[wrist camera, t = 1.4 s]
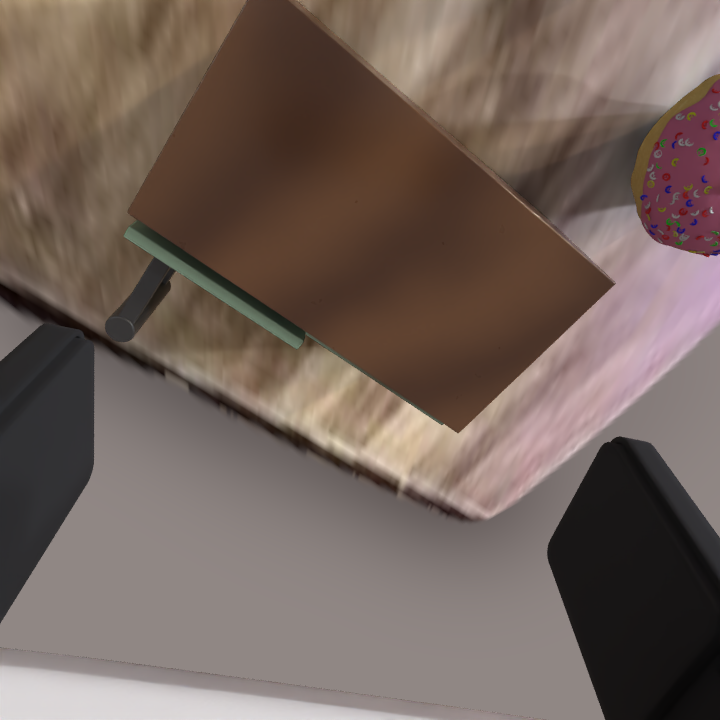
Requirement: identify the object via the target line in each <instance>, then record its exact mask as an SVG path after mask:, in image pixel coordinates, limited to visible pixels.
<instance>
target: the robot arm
mask: <svg viewBox="0 0 720 720" xmlns="http://www.w3.org/2000/svg"><path fill="white" fill-rule="evenodd" d="M93 465H94V344H93V342H92V341H90V340H85V338H84V334H83V332H82V331H81V330H78V329H73V328H68V327H63V326H58V325H53V324H45V323H44V324H43V325H41V326H40V327H39V328H38V329H36V330H35V331H34V332H33V333H32V334H31V335H30V336H29V337H27V338H26V339H25V340H24V341H23V342H22V343H21V344H19V345H18V346H17V347H16V348H15V349H14V350H13V351H12V352H10V353H9V354H8V355H7V356H6V357H5V358H4V359H2V361H0V623H1V621H2V620H3V618H4V616H5V615H6V613H7V612H8V610H9V608H10V607H11V605H12V604H13V602H14V600H15V599H16V597H17V595H18V594H19V592H20V591H21V589H22V587H23V586H24V584H25V582H26V581H27V579H28V578H29V576H30V575H31V573H32V571H33V570H34V568H35V567H36V565H37V563H38V562H39V560H40V559H41V557H42V555H43V554H44V552H45V551H46V549H47V547H48V546H49V544H50V542H51V541H52V539H53V538H54V536H55V534H56V533H57V531H58V530H59V528H60V526H61V525H62V523H63V522H64V520H65V518H66V517H67V515H68V514H69V512H70V510H71V509H72V507H73V505H74V504H75V502H76V501H77V499H78V497H79V496H80V494H81V493H82V491H83V489H84V488H85V486H86V485H87V483H88V481H89V479H90V476H91V473H92V470H93ZM547 555H548V561H549V564H550V567H551V570H552V572H553V575H554V578H555V581H556V583H557V586H558V589H559V592H560V595H561V598H562V600H563V603H564V606H565V609H566V611H567V614H568V617H569V620H570V623H571V625H572V628H573V631H574V634H575V636H576V639H577V642H578V644H579V648H580V650H581V653H582V656H583V659H584V661H585V664H586V667H587V670H588V672H589V675H590V678H591V681H592V684H593V687H594V689H595V692H596V695H597V698H598V701H599V703H600V706H601V709H602V712H603V714H604V717H605V720H720V538H719V536H718V535H717V533H716V532H715V531H714V529H713V528H712V527H711V525H710V524H709V523H708V521H707V520H706V518H705V517H704V515H703V514H702V513H701V511H700V510H699V509H698V507H697V506H696V504H695V503H694V502H693V500H692V499H691V498H690V496H689V495H688V493H687V492H686V490H685V489H684V488H683V486H682V485H681V484H680V482H679V481H678V479H677V478H676V477H675V476H674V474H673V473H672V471H671V470H670V468H669V467H668V466H667V464H666V463H665V461H664V460H663V459H662V457H661V456H660V454H659V453H658V452H657V451H656V449H655V448H654V446H653V445H651V444H650V443H648V442H645V441H640V440H634V439H629V438H625V437H616V438H614V439H613V440H612V441H611V442H607V443H604V444H603V445H602V447H601V448H600V450H599V452H598V453H597V455H596V457H595V459H594V461H593V462H592V464H591V466H590V468H589V470H588V472H587V474H586V476H585V477H584V479H583V481H582V483H581V484H580V486H579V488H578V490H577V492H576V494H575V496H574V497H573V499H572V501H571V503H570V505H569V506H568V508H567V510H566V512H565V514H564V516H563V518H562V519H561V521H560V523H559V525H558V527H557V528H556V531H555V532H554V534H553V536H552V538H551V539H550V542H549V545H548V551H547ZM0 720H544V719H537V718H530V717H523V716H516V715H509V714H502V713H495V712H488V711H481V710H473V709H466V708H459V707H452V706H444V705H438V704H430V703H423V702H415V701H409V700H402V699H394V698H387V697H380V696H372V695H365V694H358V693H351V692H343V691H336V690H328V689H322V688H314V687H307V686H300V685H292V684H285V683H277V682H270V681H262V680H255V679H246V678H239V677H232V676H225V675H217V674H210V673H202V672H194V671H186V670H179V669H172V668H163V667H156V666H149V665H141V664H134V663H126V662H119V661H111V660H104V659H96V658H87V657H78V656H70V655H60V654H52V653H43V652H35V651H26V650H18V649H9V648H0Z"/></svg>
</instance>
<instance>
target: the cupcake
mask: <svg viewBox="0 0 720 720" xmlns="http://www.w3.org/2000/svg"><path fill="white" fill-rule="evenodd" d="M631 188H632V192H633V196H634V199H635V202H636V206H637V213H638V216H639V218H640V219H641V221H642V224H643V227H644V228H645V230H646V231H647V233H648V234H649V235H650V236H651V237H652V238H653V239H654V240H655V241H657V242H659V243H661V244H664V245H668V246H672V247H675V248H678V249H681V250H685V251H689V252H691V253H696V254H700V255H704V256H706V257H709V255H715V256H716V255H718V254H720V74H718V75H714V76H712V77H710V78H708V79H706V80H705V81H704V82H703V83H701V84H700V85H699V86H698V87H696V88H695V89H694V90H692V91H691V92H690V93H688V94H687V95H686V96H684V97H683V98H682V99H681V100H680V101H678V102H677V103H676V104H675V105H674V106H673V107H672V108H671V109H670V110H668V111H667V112H666V113H665V114H664V115H663V116H662V117H661V118H660V119H659V120H658V122H657V123H656V124H655V125H654V126H653V128H652V129H651V130H650V132H649V133H648V134H647V136H646V137H645V139H644V141H643V142H642V144H641V146H640V148H639V151H638V154H637V158H636V163H635V167H634V170H633V173H632V177H631Z"/></svg>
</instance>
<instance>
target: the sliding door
mask: <svg viewBox="0 0 720 720" xmlns="http://www.w3.org/2000/svg"><path fill="white" fill-rule="evenodd" d="M124 237H125V238H126V239H128V240H129V241H131V242H132V243H134V244H136V245H137V246H139V247H140V248H142V249H143V250H145V251H146V252H148V253H149V254H151V255H152V256H154V258H153V259H152V261H151V263H150V264H149V266H148V268H147V269H146V271H145V272H144V274H143V276H142V277H141V279H140V281H139V282H138V284H137V285H136V287H135V289H134V290H133V292H132V294H131V295H130V296H129V297H128V298H127V299H126V300H125V301H124V302H123V303H122V304H121V306H120V307H119V308H118V309H117V310H116V311H115V312H114V313H113V314H112V315H111V316H110V317H109V319H108V320H107V321H106V324H105V329H106V332H107V334H108V335H109V337H111V338H112V339H113V340H115V341H118V342H127V341H129V340H131V339H132V338H133V337H134V336H135V334H136V333H137V332H138V330H139V329H140V328H141V327H142V325H143V324H144V323H145V322H146V320H147V319H148V318H149V316H150V315H151V314H152V313H153V311H154V310H155V309H156V307H157V306H158V305H159V304H160V302H161V301H162V300H163V298H164V297H165V296H166V295H167V293H168V292H169V290H170V287H171V285H170V281H169V280H170V279H171V277H172V275H173V274H174V272H175V271H177V272H179V273H180V274H182V275H183V276H185V277H186V278H188V279H189V280H191V281H192V282H194V283H195V284H197V285H198V286H200V287H202V288H203V289H205V290H206V291H208V292H209V293H211V294H212V295H214V296H215V297H217V298H218V299H220V300H221V301H223V302H225V303H226V304H228V305H229V306H231V307H232V308H234V309H235V310H237V311H238V312H240V313H241V314H243V315H244V316H246V317H248V318H249V319H251V320H252V321H254V322H255V323H257V324H258V325H260V326H261V327H263V328H264V329H266V330H268V331H269V332H271V333H272V334H274V335H275V336H277V337H278V338H280V339H281V340H283V341H284V342H286V343H287V344H289V345H291V346H292V347H294V348H295V349H298V348H299V347H300V346H301V345H302V344H303V342H304V338H305V333H306V332H305V331H304V330H302V329H301V328H299V327H298V326H296V325H295V324H293V323H292V322H290V321H289V320H287V319H286V318H284V317H283V316H281V315H280V314H278V313H277V312H275V311H274V310H272V309H271V308H269V307H268V306H266V305H265V304H263V303H262V302H260V301H259V300H257V299H256V298H254V297H253V296H251V295H250V294H248V293H247V292H245V291H244V290H242V289H241V288H239V287H238V286H236V285H235V284H233V283H232V282H230V281H229V280H227V279H226V278H224V277H223V276H221V275H220V274H218V273H217V272H215V271H214V270H212V269H211V268H209V267H208V266H206V265H205V264H203V263H202V262H200V261H199V260H197V259H196V258H194V257H193V256H191V255H190V254H188V253H187V252H185V251H184V250H182V249H181V248H179V247H178V246H176V245H175V244H173V243H172V242H170V241H169V240H167V239H166V238H164V237H163V236H161V235H160V234H158V233H157V232H155V231H154V230H152V229H151V228H149V227H148V226H146V225H145V224H143V223H142V222H140V221H139V220H136V221H135V222H134V223H133V224H131V225H130V226H129V227H128V229H127V230H126V232H125V234H124Z"/></svg>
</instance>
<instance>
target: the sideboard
mask: <svg viewBox="0 0 720 720" xmlns="http://www.w3.org/2000/svg"><path fill="white" fill-rule="evenodd" d="M127 213H128V214H130V215H131V216H133V217H134V218H136V219H137V220H139V221H140V222H142V223H143V224H145V225H146V226H148V227H149V228H151V229H152V230H154V231H155V232H157V233H158V234H160V235H161V236H163V237H164V238H166V239H167V240H169V241H170V242H172V243H173V244H175V245H176V246H178V247H179V248H181V249H182V250H184V251H185V252H187V253H188V254H190V255H191V256H193V257H194V258H196V259H197V260H199V261H200V262H202V263H203V264H205V265H206V266H208V267H209V268H211V269H212V270H214V271H215V272H217V273H218V274H220V275H221V276H223V277H224V278H226V279H227V280H229V281H230V282H232V283H233V284H235V285H236V286H238V287H239V288H241V289H242V290H244V291H245V292H247V293H248V294H250V295H251V296H253V297H254V298H256V299H257V300H259V301H260V302H262V303H263V304H265V305H266V306H268V307H269V308H271V309H272V310H274V311H275V312H277V313H278V314H280V315H281V316H283V317H284V318H286V319H287V320H289V321H290V322H292V323H293V324H295V325H296V326H298V327H299V328H301V329H302V330H304V331H305V332H306V335H307V336H308V337H310V338H311V339H313V340H314V341H316V342H317V343H319V344H320V345H322V346H323V347H325V348H327V349H328V350H330V351H331V352H333V353H334V354H336V355H337V356H339V357H340V358H342V359H343V360H345V361H346V362H348V363H349V364H351V365H352V366H354V367H355V368H357V369H358V370H360V371H361V372H363V373H364V374H366V375H367V376H369V377H370V378H372V379H373V380H375V381H376V382H378V383H379V384H381V385H382V386H384V387H385V388H387V389H388V390H390V391H391V392H393V393H394V394H396V395H397V396H399V397H400V398H402V399H403V400H405V401H406V402H408V403H409V404H411V405H412V406H414V407H415V408H417V409H418V410H420V411H421V412H423V413H424V414H426V415H427V416H429V417H430V418H432V419H433V420H435V421H436V422H438V423H439V424H441V425H443V424H445V425H446V426H448V427H449V428H451V429H452V430H454V431H455V432H457V433H459V432H460V431H461V430H462V429H464V428H465V427H466V426H467V425H468V424H469V423H470V422H471V421H472V420H473V419H474V418H475V417H476V416H477V415H478V414H479V413H480V412H481V411H482V410H483V409H485V408H486V407H487V406H488V405H489V404H490V403H491V402H492V401H493V400H494V399H495V398H496V397H497V396H498V395H499V394H500V393H501V392H502V391H503V390H504V389H506V388H507V387H508V386H509V385H510V384H511V383H512V382H513V381H514V380H515V379H516V378H517V377H518V376H519V375H520V374H521V373H522V372H523V371H524V370H525V369H526V368H528V367H529V366H530V365H531V364H532V363H533V362H534V361H535V360H536V359H537V358H538V357H539V356H540V355H541V354H542V353H543V352H544V351H545V350H546V349H547V348H549V347H550V346H551V345H552V344H553V343H554V342H555V341H556V340H557V339H558V338H559V337H560V336H561V335H562V334H563V333H564V332H565V331H566V330H567V329H568V328H570V327H571V326H572V325H573V324H574V323H575V322H576V321H577V320H578V319H579V318H580V317H581V316H582V315H583V314H584V313H585V312H586V311H587V310H588V309H589V308H591V307H592V306H593V305H594V304H595V303H596V302H597V301H598V300H599V299H600V298H601V297H602V296H603V295H604V294H605V293H606V292H607V291H608V290H609V289H610V288H611V287H613V286H614V285H615V282H614V281H613V280H612V279H611V278H610V277H609V276H608V275H607V274H606V273H605V272H604V271H603V270H601V269H600V268H599V267H598V266H597V265H596V264H595V263H594V262H593V261H592V260H591V259H590V258H589V257H588V256H587V255H586V254H585V253H584V252H582V251H581V250H580V249H579V248H578V247H577V246H576V245H575V244H574V243H573V242H572V241H571V240H570V239H569V238H568V237H567V236H566V235H564V234H563V233H562V232H561V231H560V230H559V229H558V228H557V227H556V226H555V225H554V224H553V223H552V222H551V221H550V220H549V219H547V218H546V217H545V216H544V215H543V214H542V213H541V212H539V211H538V210H537V209H536V208H535V207H534V206H532V205H531V204H530V203H529V202H528V201H527V200H526V199H524V198H523V197H522V196H521V195H520V194H519V193H517V192H516V191H515V190H514V189H513V188H512V187H511V186H509V185H508V184H507V183H506V182H505V181H504V180H502V179H501V178H500V177H499V176H498V175H497V174H496V173H494V172H493V171H492V170H491V169H490V168H489V167H488V166H486V165H485V164H484V163H483V162H482V161H481V160H479V159H478V158H477V157H476V156H475V155H474V154H473V153H471V152H470V151H469V150H468V149H467V148H466V147H464V146H463V145H462V144H461V143H460V142H459V141H458V140H456V139H455V138H454V137H453V136H452V135H451V134H450V133H448V132H447V131H446V130H445V129H444V128H443V127H441V126H440V125H439V124H438V123H437V122H436V121H435V120H433V119H432V118H431V117H430V116H429V115H428V114H426V113H425V112H424V111H423V110H422V109H421V108H420V107H418V106H417V105H416V104H415V103H414V102H413V101H412V100H410V99H409V98H408V97H407V96H406V95H405V94H403V93H402V92H401V91H400V90H399V89H398V88H397V87H395V86H394V85H393V84H392V83H391V82H390V81H388V80H387V79H386V78H385V77H384V76H383V75H382V74H380V73H379V72H378V71H377V70H376V69H375V68H373V67H372V66H371V65H370V64H369V63H368V62H367V61H365V60H364V59H363V58H362V57H361V56H360V55H359V54H357V53H356V52H355V51H354V50H353V49H352V48H350V47H349V46H348V45H347V44H346V43H345V42H344V41H342V40H341V39H340V38H339V37H338V36H337V35H335V34H334V33H333V32H332V31H331V30H330V29H329V28H327V27H326V26H325V25H324V24H323V23H322V22H321V21H319V20H318V19H317V18H316V17H315V16H314V15H312V14H311V13H310V12H309V11H308V10H307V9H306V8H304V7H303V6H302V5H301V4H300V3H299V2H297V1H296V0H247V1H246V3H245V5H244V6H243V8H242V10H241V12H240V14H239V15H238V17H237V19H236V21H235V22H234V24H233V26H232V28H231V29H230V31H229V33H228V35H227V36H226V38H225V40H224V42H223V43H222V45H221V47H220V49H219V51H218V52H217V54H216V56H215V58H214V59H213V61H212V63H211V65H210V66H209V68H208V70H207V72H206V73H205V75H204V77H203V79H202V81H201V82H200V84H199V86H198V88H197V89H196V91H195V93H194V95H193V96H192V98H191V100H190V102H189V103H188V105H187V107H186V109H185V110H184V112H183V114H182V116H181V118H180V119H179V121H178V123H177V125H176V126H175V128H174V130H173V132H172V133H171V135H170V137H169V139H168V140H167V142H166V144H165V146H164V148H163V149H162V151H161V153H160V155H159V156H158V158H157V160H156V162H155V163H154V165H153V167H152V169H151V170H150V172H149V174H148V176H147V177H146V179H145V181H144V183H143V185H142V186H141V188H140V190H139V192H138V193H137V195H136V197H135V199H134V200H133V202H132V204H131V206H130V207H129V209H128V211H127Z"/></svg>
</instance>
